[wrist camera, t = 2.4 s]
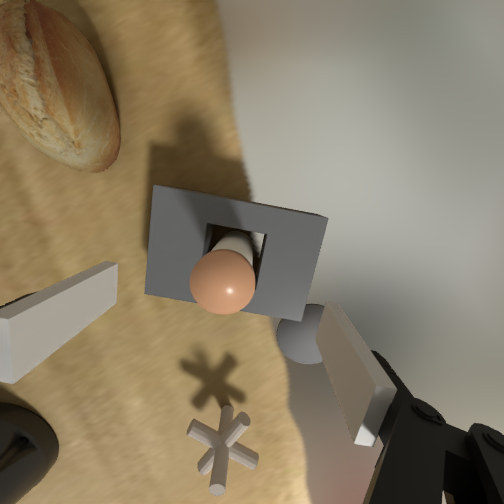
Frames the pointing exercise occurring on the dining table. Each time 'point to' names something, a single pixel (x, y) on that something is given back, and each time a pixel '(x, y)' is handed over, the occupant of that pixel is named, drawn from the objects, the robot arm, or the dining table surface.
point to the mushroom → (225, 275)
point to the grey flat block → (241, 217)
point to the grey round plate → (301, 336)
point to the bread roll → (56, 87)
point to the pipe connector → (222, 447)
